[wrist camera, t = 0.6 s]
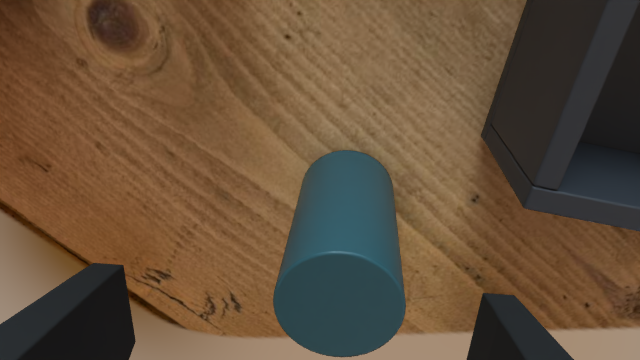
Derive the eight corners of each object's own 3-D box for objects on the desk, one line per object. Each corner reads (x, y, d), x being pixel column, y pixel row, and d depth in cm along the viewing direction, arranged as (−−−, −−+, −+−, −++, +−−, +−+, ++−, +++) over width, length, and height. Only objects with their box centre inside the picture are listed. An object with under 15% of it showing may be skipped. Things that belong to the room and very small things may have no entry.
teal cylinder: (381, 238, 21) (388, 368, 14) (295, 221, 21) (264, 345, 14) (403, 159, 19) (421, 267, 13) (309, 141, 19) (283, 240, 13)
